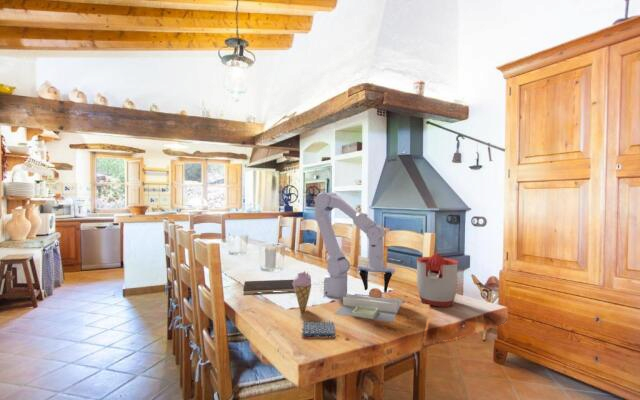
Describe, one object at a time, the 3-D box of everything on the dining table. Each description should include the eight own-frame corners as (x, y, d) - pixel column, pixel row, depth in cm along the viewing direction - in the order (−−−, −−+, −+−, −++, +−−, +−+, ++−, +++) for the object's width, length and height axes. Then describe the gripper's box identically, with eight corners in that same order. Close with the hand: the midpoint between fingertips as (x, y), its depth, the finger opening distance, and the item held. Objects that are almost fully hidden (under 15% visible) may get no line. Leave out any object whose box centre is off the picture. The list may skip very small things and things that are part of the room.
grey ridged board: (334, 316, 112) (334, 304, 112) (355, 296, 136) (355, 286, 136) (392, 325, 104) (392, 313, 104) (403, 302, 129) (403, 292, 129)
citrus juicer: (411, 306, 124) (411, 254, 124) (420, 294, 139) (420, 248, 139) (455, 313, 116) (456, 257, 116) (459, 300, 132) (460, 251, 132)
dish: (351, 315, 110) (351, 311, 110) (357, 309, 117) (357, 305, 117) (373, 319, 107) (373, 314, 107) (378, 312, 114) (378, 308, 114)
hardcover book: (297, 293, 142) (297, 287, 142) (243, 295, 137) (243, 290, 137) (293, 283, 157) (293, 279, 157) (244, 285, 153) (244, 281, 153)
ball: (367, 301, 125) (367, 288, 125) (370, 298, 130) (370, 285, 130) (380, 303, 124) (380, 290, 124) (383, 299, 128) (383, 287, 128)
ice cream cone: (296, 316, 111) (296, 273, 111) (289, 311, 117) (290, 269, 117) (313, 313, 115) (314, 271, 115) (306, 308, 120) (306, 268, 120)
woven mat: (334, 326, 105) (334, 320, 105) (336, 340, 94) (337, 333, 94) (301, 326, 104) (302, 320, 104) (301, 340, 94) (301, 333, 94)
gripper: (355, 256, 126) (355, 291, 126) (392, 258, 120) (392, 295, 120) (360, 253, 132) (359, 286, 132) (395, 255, 127) (395, 290, 127)
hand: (375, 290), depth 127 cm, fingers open, 7 cm apart
